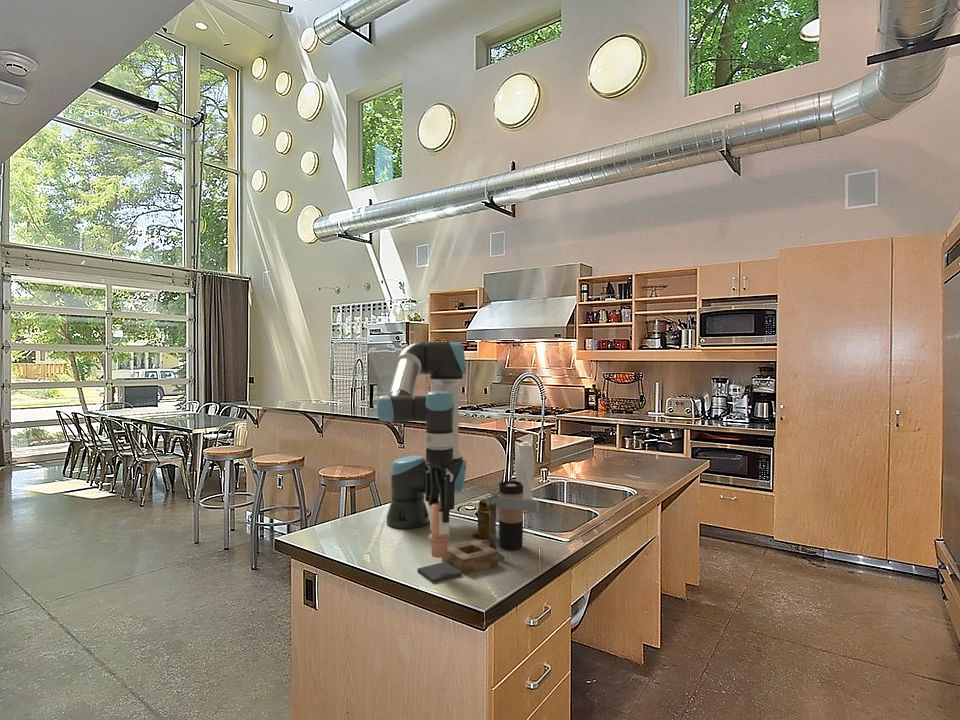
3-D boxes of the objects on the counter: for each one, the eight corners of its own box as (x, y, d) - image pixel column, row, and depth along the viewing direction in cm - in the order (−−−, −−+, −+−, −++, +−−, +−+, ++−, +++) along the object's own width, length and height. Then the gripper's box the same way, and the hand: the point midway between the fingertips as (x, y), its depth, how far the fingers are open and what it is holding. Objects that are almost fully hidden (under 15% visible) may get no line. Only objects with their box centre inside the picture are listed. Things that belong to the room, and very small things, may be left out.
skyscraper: (540, 510, 219) (540, 438, 219) (526, 515, 214) (526, 440, 213) (523, 506, 226) (524, 435, 225) (509, 510, 220) (510, 437, 219)
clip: (535, 512, 165) (536, 502, 164) (484, 506, 170) (484, 496, 170) (539, 509, 168) (539, 499, 168) (489, 503, 174) (489, 493, 174)
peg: (424, 553, 160) (424, 503, 159) (443, 549, 163) (443, 500, 163) (435, 560, 155) (435, 509, 155) (454, 555, 158) (454, 505, 158)
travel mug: (494, 547, 180) (494, 484, 179) (506, 540, 186) (507, 479, 186) (515, 552, 176) (515, 488, 175) (527, 545, 182) (527, 483, 181)
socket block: (442, 560, 169) (442, 509, 169) (487, 549, 178) (488, 500, 178) (463, 574, 159) (463, 519, 159) (511, 561, 168) (511, 510, 168)
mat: (417, 572, 161) (417, 568, 161) (445, 565, 166) (445, 561, 166) (433, 583, 153) (433, 579, 153) (461, 575, 158) (461, 572, 158)
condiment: (501, 538, 189) (501, 502, 189) (479, 542, 184) (479, 506, 184) (488, 532, 195) (488, 497, 195) (467, 536, 190) (467, 500, 190)
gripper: (412, 444, 163) (412, 525, 164) (443, 453, 149) (443, 542, 150) (435, 441, 168) (435, 520, 168) (468, 450, 153) (467, 537, 154)
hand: (439, 530), depth 159 cm, fingers closed on peg, 4 cm apart
